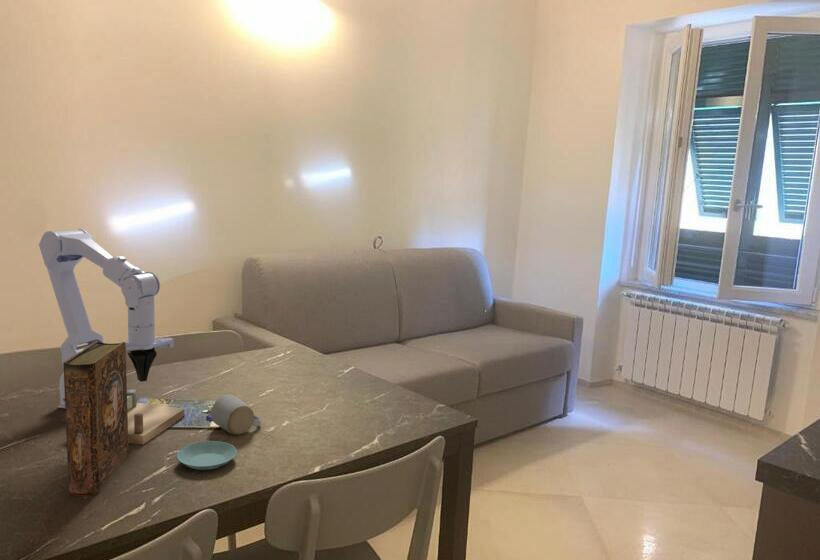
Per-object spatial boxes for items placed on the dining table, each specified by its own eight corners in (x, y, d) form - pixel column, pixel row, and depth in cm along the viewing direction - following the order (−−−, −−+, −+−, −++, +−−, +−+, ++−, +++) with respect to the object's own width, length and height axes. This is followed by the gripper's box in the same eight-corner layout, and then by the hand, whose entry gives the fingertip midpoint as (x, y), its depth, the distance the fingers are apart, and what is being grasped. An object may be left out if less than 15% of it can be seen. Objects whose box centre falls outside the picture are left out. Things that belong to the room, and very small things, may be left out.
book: (96, 496, 116) (92, 365, 111) (65, 496, 115) (60, 364, 111) (128, 456, 132) (125, 340, 128) (101, 456, 131) (97, 340, 127)
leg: (127, 402, 155) (127, 389, 155) (139, 403, 155) (138, 390, 154) (89, 424, 141) (89, 410, 140) (102, 426, 141) (101, 411, 140)
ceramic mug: (228, 440, 142) (229, 407, 141) (209, 428, 148) (210, 397, 146) (268, 428, 150) (269, 397, 149) (249, 418, 155) (250, 388, 154)
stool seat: (74, 435, 140) (73, 409, 139) (121, 408, 157) (121, 385, 156) (143, 444, 137) (142, 418, 136) (184, 416, 154) (184, 393, 153)
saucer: (246, 455, 136) (246, 445, 135) (218, 480, 124) (218, 469, 124) (197, 447, 138) (197, 437, 138) (165, 471, 127) (165, 460, 126)
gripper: (115, 332, 139) (116, 390, 142) (179, 324, 149) (179, 379, 151) (104, 325, 144) (105, 382, 147) (166, 318, 154) (167, 371, 156)
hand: (142, 380), depth 149 cm, fingers closed
